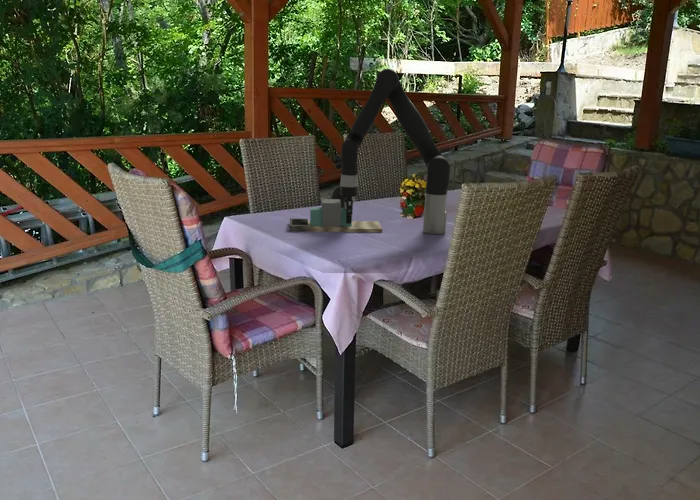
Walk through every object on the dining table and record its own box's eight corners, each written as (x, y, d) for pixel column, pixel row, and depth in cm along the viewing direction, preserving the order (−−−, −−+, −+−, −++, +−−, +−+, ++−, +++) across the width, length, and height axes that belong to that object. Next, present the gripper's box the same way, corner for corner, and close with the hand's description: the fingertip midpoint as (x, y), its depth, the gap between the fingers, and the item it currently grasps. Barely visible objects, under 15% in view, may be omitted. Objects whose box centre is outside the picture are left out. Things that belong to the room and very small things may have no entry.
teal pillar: (350, 223, 281) (351, 208, 279) (351, 226, 276) (352, 210, 274) (310, 222, 280) (310, 207, 278) (310, 225, 275) (310, 209, 273)
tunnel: (339, 222, 282) (339, 199, 279) (340, 227, 274) (341, 203, 271) (321, 222, 282) (321, 199, 279) (322, 226, 274) (322, 203, 271)
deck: (378, 224, 287) (378, 219, 286) (382, 232, 274) (382, 227, 273) (289, 223, 283) (289, 218, 283) (289, 231, 270) (289, 225, 269)
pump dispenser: (353, 219, 295) (354, 187, 291) (332, 220, 291) (333, 188, 287) (345, 214, 304) (346, 183, 300) (325, 216, 301) (325, 184, 296)
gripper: (359, 188, 267) (357, 225, 272) (356, 182, 281) (354, 217, 285) (341, 187, 267) (340, 225, 271) (339, 181, 280) (338, 217, 285)
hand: (347, 221), depth 278 cm, fingers open, 8 cm apart
